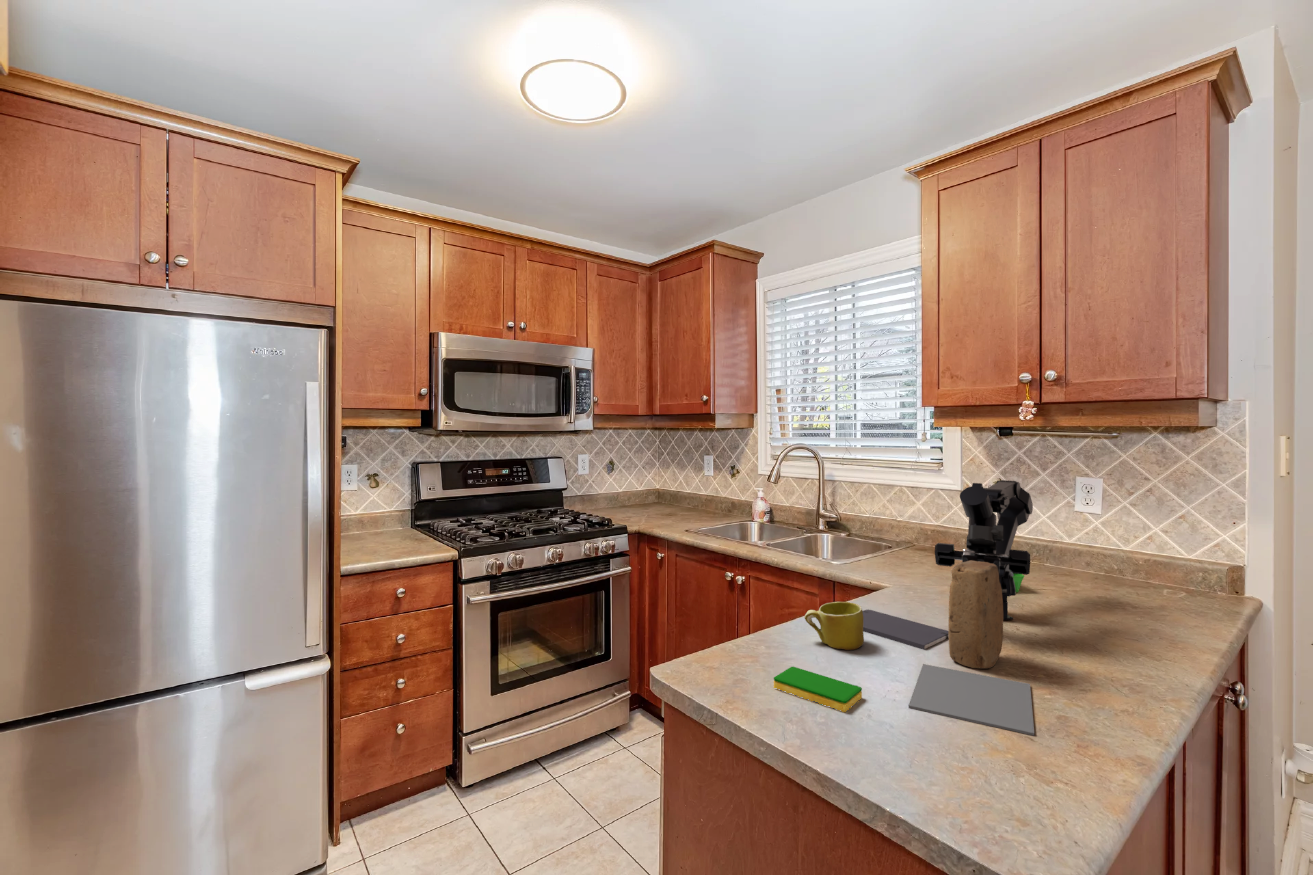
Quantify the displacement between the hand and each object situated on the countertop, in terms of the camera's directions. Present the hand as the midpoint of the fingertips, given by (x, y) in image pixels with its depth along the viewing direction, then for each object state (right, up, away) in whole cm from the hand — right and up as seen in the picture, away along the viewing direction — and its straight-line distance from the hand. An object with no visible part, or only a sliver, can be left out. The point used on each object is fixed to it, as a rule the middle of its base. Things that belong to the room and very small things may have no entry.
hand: (979, 590), depth 129 cm
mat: (-15, -12, -24) cm, 31 cm away
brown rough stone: (-5, -12, -9) cm, 16 cm away
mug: (-31, -12, +1) cm, 34 cm away
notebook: (-15, -12, +10) cm, 22 cm away
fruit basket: (+30, -11, +44) cm, 54 cm away
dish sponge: (-42, -13, -23) cm, 49 cm away
